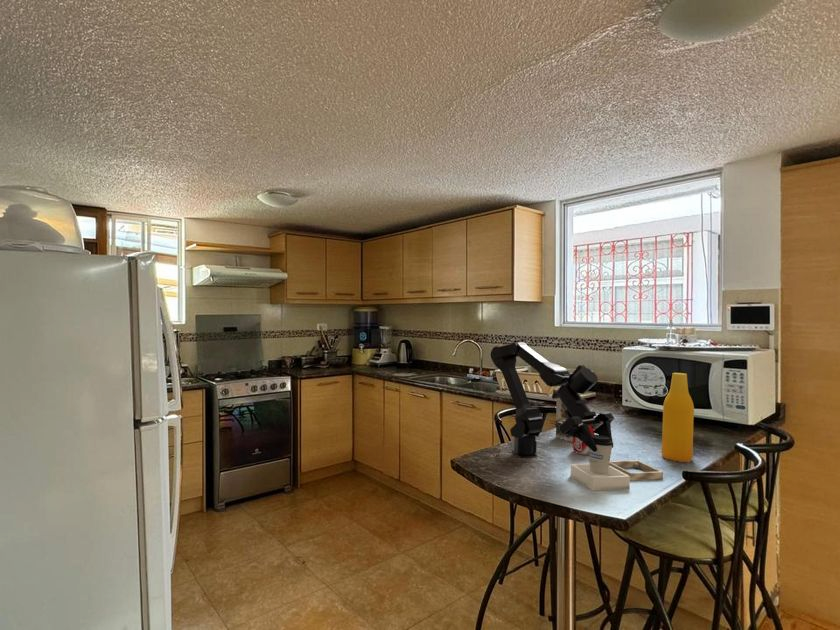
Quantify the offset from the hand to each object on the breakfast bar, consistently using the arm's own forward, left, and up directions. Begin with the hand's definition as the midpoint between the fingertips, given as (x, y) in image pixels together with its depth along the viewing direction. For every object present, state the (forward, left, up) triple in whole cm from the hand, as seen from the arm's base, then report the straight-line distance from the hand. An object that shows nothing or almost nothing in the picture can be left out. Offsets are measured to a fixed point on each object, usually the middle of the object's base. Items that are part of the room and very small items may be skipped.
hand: (604, 449), depth 127 cm
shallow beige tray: (0, +1, -10) cm, 10 cm away
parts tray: (+16, +7, -10) cm, 20 cm away
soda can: (+12, +28, -10) cm, 32 cm away
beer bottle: (+42, +19, -10) cm, 47 cm away
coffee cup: (0, +1, -7) cm, 7 cm away
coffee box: (+17, +45, -10) cm, 49 cm away
